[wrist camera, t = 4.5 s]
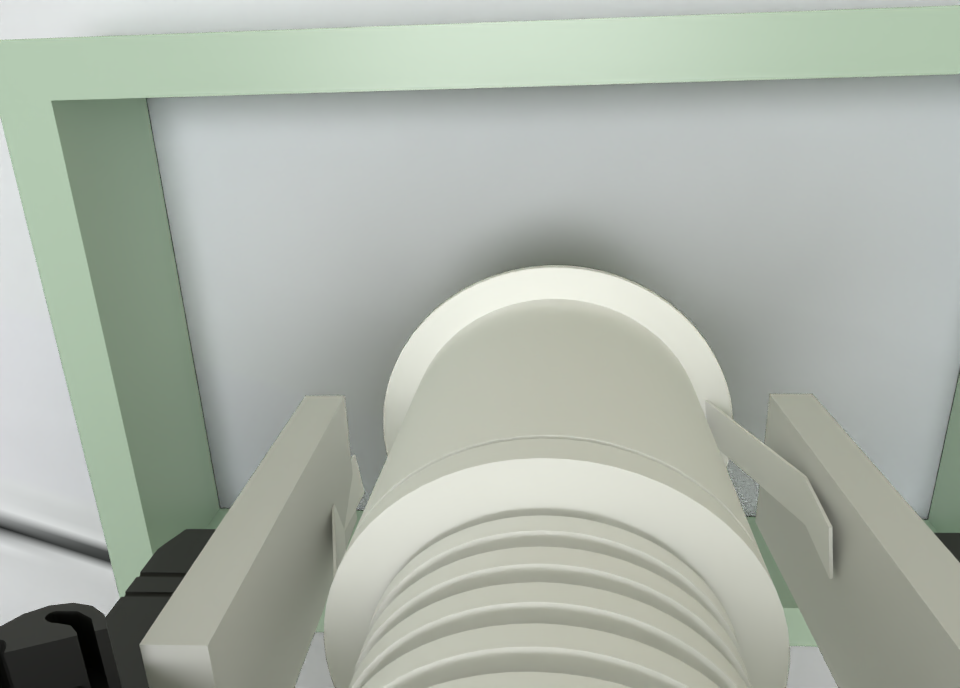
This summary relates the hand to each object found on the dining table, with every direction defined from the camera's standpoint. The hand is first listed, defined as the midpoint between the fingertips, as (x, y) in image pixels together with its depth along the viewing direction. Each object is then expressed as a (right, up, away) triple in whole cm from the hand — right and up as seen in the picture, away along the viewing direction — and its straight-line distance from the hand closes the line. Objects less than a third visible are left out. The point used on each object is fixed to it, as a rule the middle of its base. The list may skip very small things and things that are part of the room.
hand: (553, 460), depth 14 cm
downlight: (0, +1, +1) cm, 2 cm away
